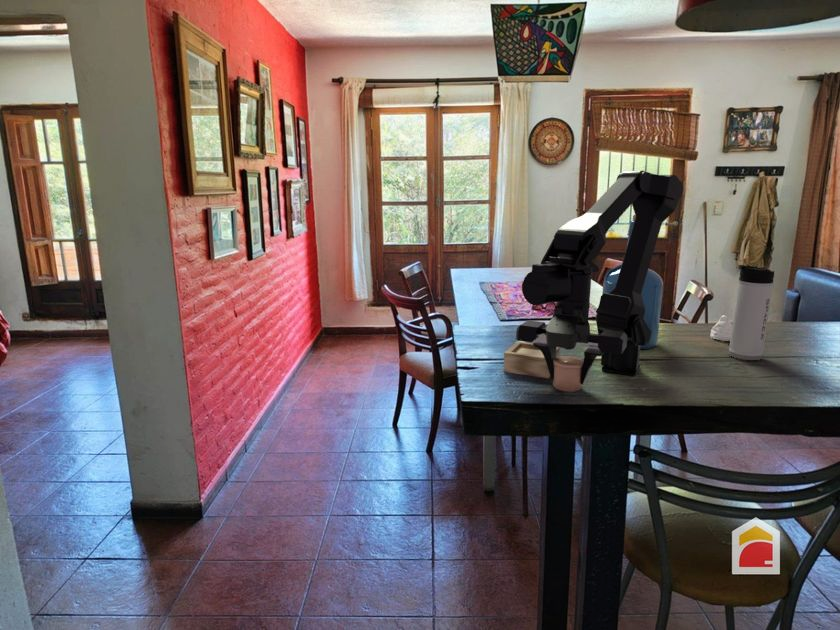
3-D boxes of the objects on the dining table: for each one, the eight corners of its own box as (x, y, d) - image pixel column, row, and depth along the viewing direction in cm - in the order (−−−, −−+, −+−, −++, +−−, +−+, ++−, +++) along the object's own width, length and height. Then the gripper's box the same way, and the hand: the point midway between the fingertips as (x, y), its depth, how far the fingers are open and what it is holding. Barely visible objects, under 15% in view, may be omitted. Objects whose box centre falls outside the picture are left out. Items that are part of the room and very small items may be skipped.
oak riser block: (558, 366, 111) (559, 346, 110) (548, 380, 103) (549, 358, 102) (516, 360, 115) (517, 341, 114) (503, 373, 107) (504, 352, 106)
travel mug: (722, 351, 120) (734, 263, 116) (754, 353, 119) (768, 264, 114) (732, 360, 114) (745, 267, 110) (766, 362, 113) (781, 268, 108)
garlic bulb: (710, 312, 132) (734, 313, 131) (707, 335, 134) (731, 337, 132) (716, 317, 127) (742, 318, 126) (713, 341, 128) (738, 343, 127)
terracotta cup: (585, 384, 100) (587, 359, 99) (578, 394, 95) (580, 367, 94) (556, 379, 102) (558, 354, 101) (548, 388, 98) (550, 362, 97)
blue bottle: (630, 333, 135) (641, 213, 129) (670, 347, 123) (685, 215, 117) (585, 338, 131) (594, 214, 124) (623, 353, 119) (635, 216, 112)
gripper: (507, 301, 93) (503, 386, 96) (620, 313, 84) (612, 406, 87) (527, 290, 102) (524, 368, 106) (631, 300, 93) (623, 384, 97)
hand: (567, 381), depth 99 cm, fingers closed on terracotta cup, 5 cm apart
